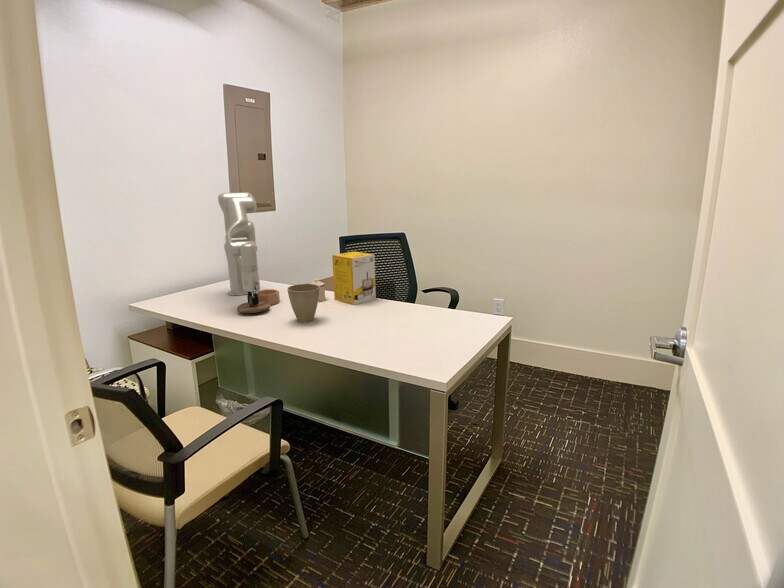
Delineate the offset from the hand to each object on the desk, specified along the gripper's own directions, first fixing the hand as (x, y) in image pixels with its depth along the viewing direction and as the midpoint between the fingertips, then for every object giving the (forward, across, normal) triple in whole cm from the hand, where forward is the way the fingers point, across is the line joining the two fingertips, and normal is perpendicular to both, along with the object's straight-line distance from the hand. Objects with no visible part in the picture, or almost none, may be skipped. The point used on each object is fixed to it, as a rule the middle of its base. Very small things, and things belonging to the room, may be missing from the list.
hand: (253, 303), depth 222 cm
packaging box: (+4, +21, +50) cm, 54 cm away
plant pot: (+4, +32, +10) cm, 33 cm away
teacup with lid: (+5, +5, +35) cm, 35 cm away
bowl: (+5, -9, +13) cm, 17 cm away
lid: (+3, 0, 0) cm, 3 cm away
